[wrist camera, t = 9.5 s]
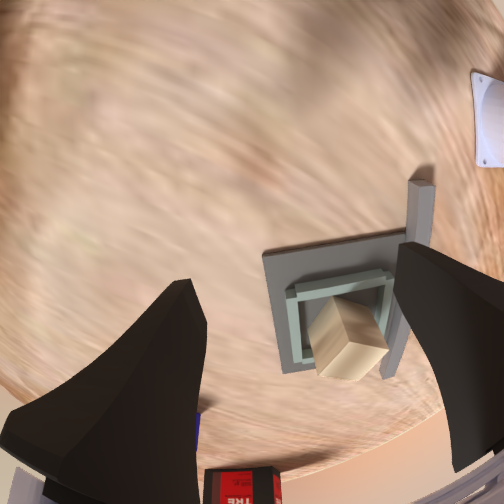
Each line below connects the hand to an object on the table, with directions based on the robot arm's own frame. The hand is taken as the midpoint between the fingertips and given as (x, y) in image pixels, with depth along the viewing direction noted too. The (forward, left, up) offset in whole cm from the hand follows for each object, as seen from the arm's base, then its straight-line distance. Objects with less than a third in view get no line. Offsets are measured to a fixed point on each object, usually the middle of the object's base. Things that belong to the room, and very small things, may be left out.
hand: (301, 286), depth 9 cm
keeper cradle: (-4, +11, -9) cm, 15 cm away
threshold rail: (-11, +11, -9) cm, 18 cm away
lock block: (-4, +11, -9) cm, 15 cm away
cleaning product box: (+15, +64, -10) cm, 66 cm away
